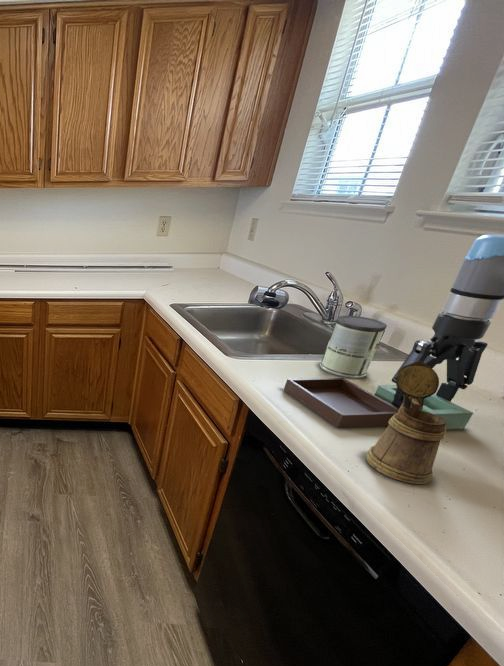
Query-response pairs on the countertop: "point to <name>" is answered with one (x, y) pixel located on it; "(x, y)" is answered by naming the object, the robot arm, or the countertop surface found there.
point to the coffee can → (352, 346)
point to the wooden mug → (410, 430)
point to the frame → (433, 407)
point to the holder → (341, 402)
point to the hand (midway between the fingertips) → (416, 411)
